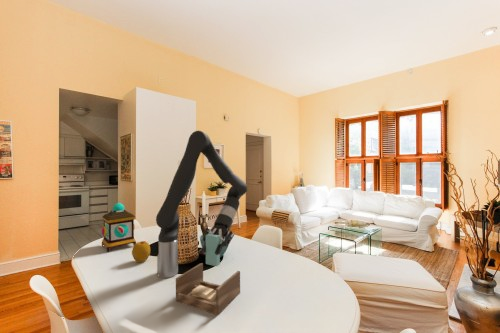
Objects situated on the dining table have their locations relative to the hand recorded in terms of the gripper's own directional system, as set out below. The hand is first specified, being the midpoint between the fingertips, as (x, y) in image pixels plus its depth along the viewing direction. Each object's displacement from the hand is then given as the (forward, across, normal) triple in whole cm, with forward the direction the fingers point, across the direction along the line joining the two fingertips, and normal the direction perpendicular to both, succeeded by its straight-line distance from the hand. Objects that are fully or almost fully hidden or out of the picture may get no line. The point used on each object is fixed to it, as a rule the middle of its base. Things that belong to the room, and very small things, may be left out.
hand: (210, 252), depth 96 cm
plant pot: (-15, -25, +42) cm, 51 cm away
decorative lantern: (-5, -96, +33) cm, 101 cm away
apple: (+3, -59, +24) cm, 64 cm away
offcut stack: (+16, 0, +9) cm, 18 cm away
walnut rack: (+14, 0, +12) cm, 19 cm away
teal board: (+2, 0, +5) cm, 6 cm away
